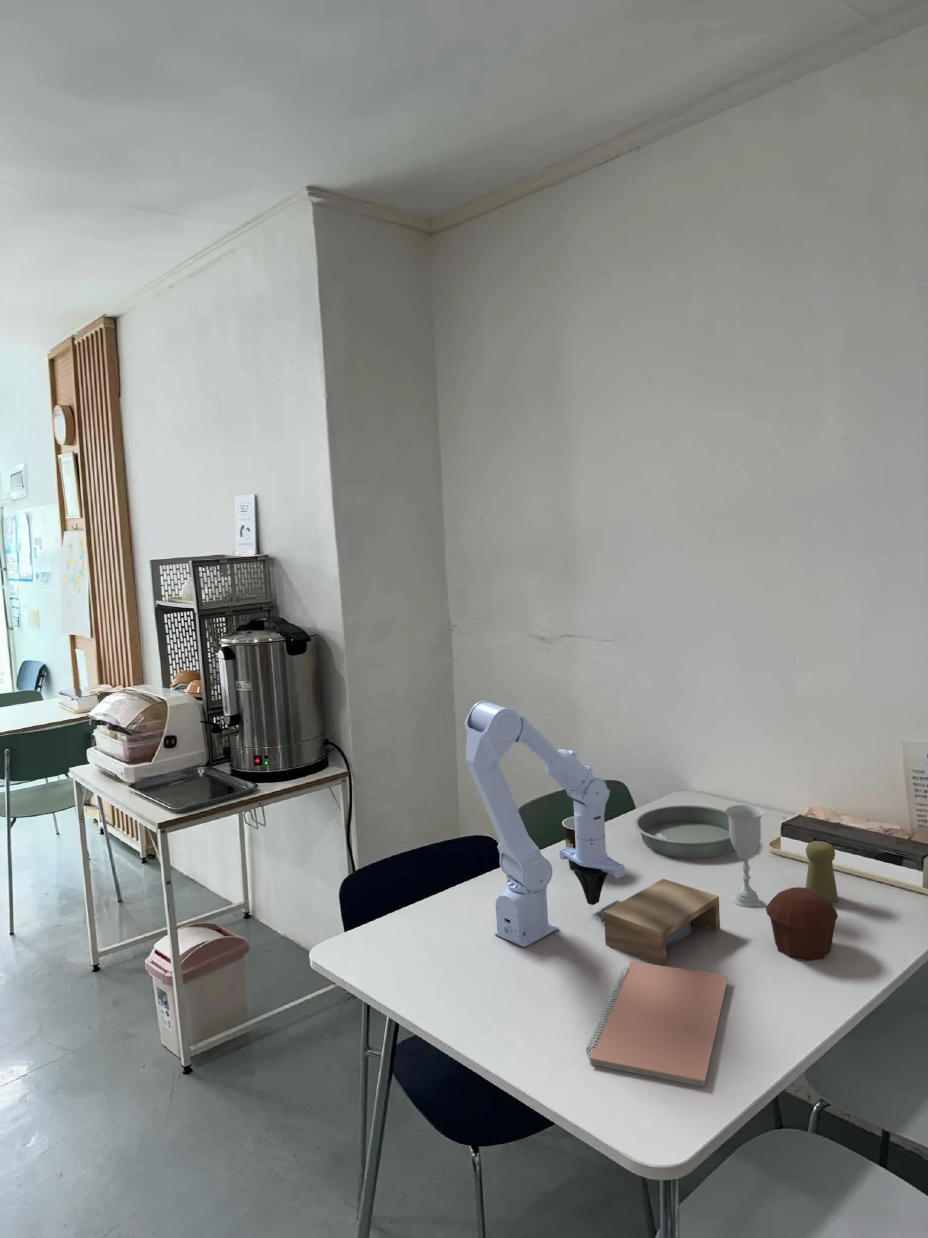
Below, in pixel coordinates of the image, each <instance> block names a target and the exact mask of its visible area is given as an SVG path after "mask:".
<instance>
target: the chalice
mask: <svg viewBox="0 0 928 1238" xmlns="http://www.w3.org/2000/svg"><path fill="white" fill-rule="evenodd" d="M725 811H726V813H727V815H728V817H729V836H730V839H731V842H732V845H733V847H734V849H733V850H735V852H736V854H737V856H738V857H739V858H740V859H742V862H743V864H742V867H741V869H742V871H743V874H742V875H741V878H742V880H743V885H742V886H741V887H739V888H738V889H737V890H736V893H735V895H734V897H733V903H734V904H736V905H738V906H740V907H743V908H754V907H758V906H759V905H761V900H760V898H759V895H758V894H757V893H758V892H757V891H756V890H755V888H753V887H751V886H750V883H749V882H750V880H751V875H750V874H749V872H750V870H751V867H750V866H749V859H752V858H754V855H755V854H756V852H757V850H758V847H759V844H760V842H761V839H762V836H761V835H762V834H761V833H762V830H761V827H762V825H761V818H762V816H763V814H764V812H763V810H762V809H761V808H759V807H756V806H753V805H745V804H740V805H739V804H738V805H737V804H735V805H732V806H729V807H727V808H726V809H725Z"/></svg>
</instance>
